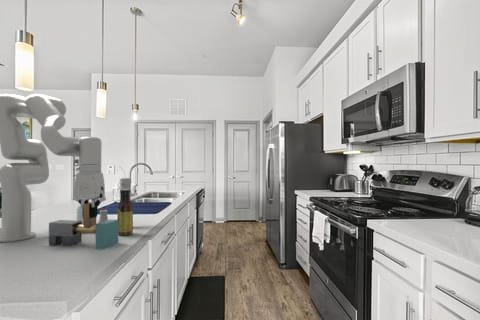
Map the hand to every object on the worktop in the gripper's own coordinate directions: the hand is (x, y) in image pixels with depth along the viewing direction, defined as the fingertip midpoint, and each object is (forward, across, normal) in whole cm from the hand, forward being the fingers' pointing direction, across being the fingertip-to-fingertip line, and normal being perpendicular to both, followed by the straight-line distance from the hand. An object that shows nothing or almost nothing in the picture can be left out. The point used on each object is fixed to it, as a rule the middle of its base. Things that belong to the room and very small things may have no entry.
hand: (90, 216), depth 101 cm
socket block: (+11, +7, 0) cm, 13 cm away
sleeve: (+11, -10, 0) cm, 15 cm away
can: (+11, -18, +19) cm, 28 cm away
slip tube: (+6, -3, 0) cm, 7 cm away
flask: (+11, -8, +18) cm, 22 cm away
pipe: (+11, -4, +28) cm, 30 cm away
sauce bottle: (+11, +4, +16) cm, 20 cm away
